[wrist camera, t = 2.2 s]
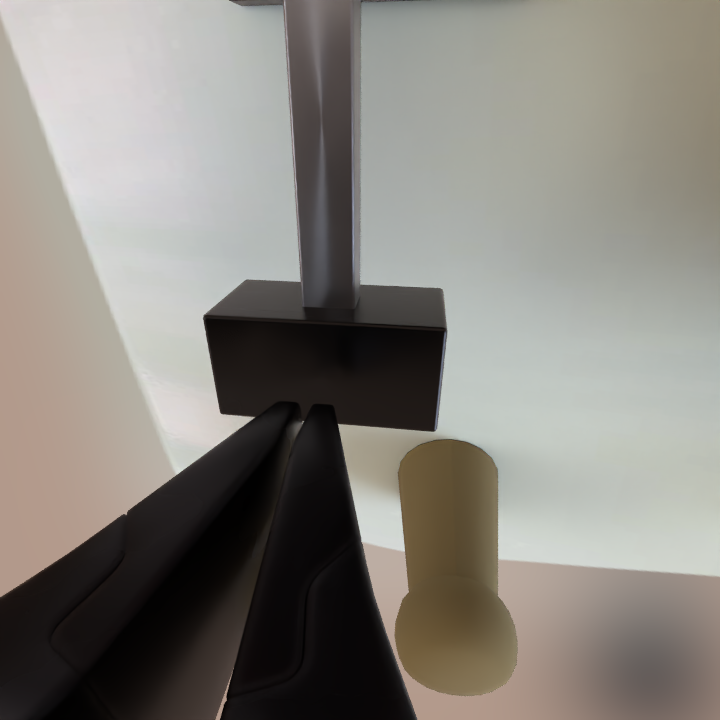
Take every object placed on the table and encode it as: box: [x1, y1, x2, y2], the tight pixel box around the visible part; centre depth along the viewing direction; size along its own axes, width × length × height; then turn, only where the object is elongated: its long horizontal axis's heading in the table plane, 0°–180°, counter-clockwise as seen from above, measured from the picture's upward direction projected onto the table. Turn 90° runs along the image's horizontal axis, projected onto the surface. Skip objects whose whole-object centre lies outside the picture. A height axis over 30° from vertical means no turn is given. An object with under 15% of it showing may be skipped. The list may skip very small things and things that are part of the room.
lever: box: [203, 0, 447, 432], centre depth 8 cm, size 13×5×3 cm, turn 1°
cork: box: [395, 440, 517, 696], centre depth 22 cm, size 6×6×11 cm
